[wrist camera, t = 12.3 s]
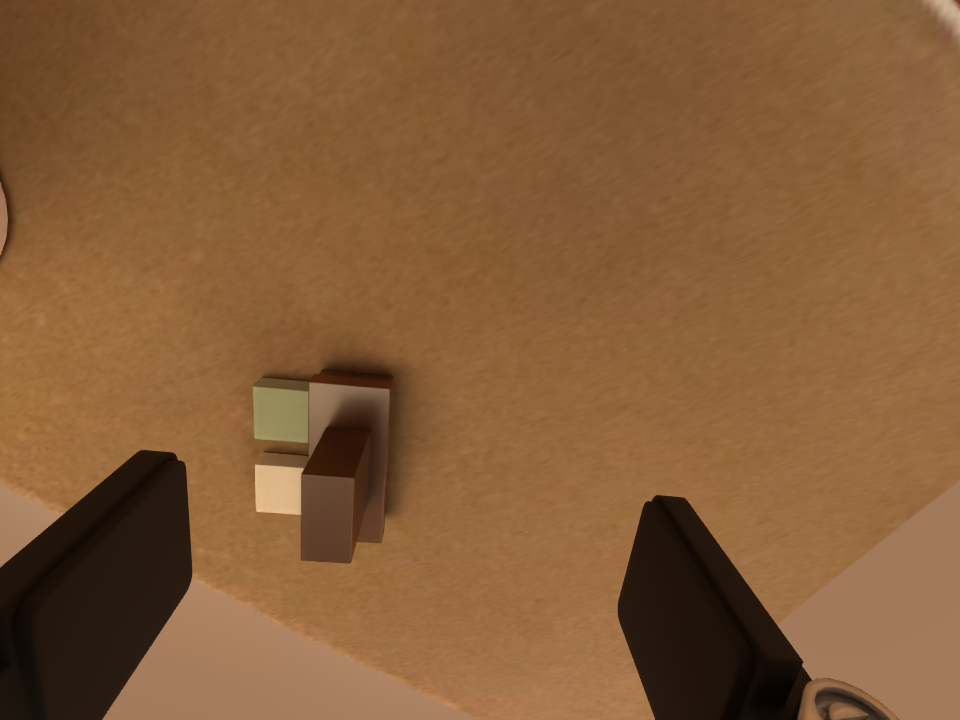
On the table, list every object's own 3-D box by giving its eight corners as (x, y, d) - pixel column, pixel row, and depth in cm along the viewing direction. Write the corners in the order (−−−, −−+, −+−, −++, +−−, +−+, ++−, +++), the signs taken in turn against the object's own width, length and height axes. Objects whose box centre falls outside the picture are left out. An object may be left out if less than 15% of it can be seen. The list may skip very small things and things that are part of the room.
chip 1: (262, 427, 38) (253, 439, 37) (261, 377, 37) (252, 386, 35) (318, 432, 39) (311, 443, 37) (318, 382, 37) (312, 391, 36)
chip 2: (264, 497, 40) (255, 511, 38) (263, 452, 39) (254, 464, 37) (317, 501, 40) (310, 515, 39) (317, 456, 39) (311, 468, 37)
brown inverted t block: (317, 514, 41) (280, 601, 32) (319, 366, 37) (278, 421, 28) (386, 518, 41) (368, 606, 33) (396, 372, 37) (378, 429, 29)
